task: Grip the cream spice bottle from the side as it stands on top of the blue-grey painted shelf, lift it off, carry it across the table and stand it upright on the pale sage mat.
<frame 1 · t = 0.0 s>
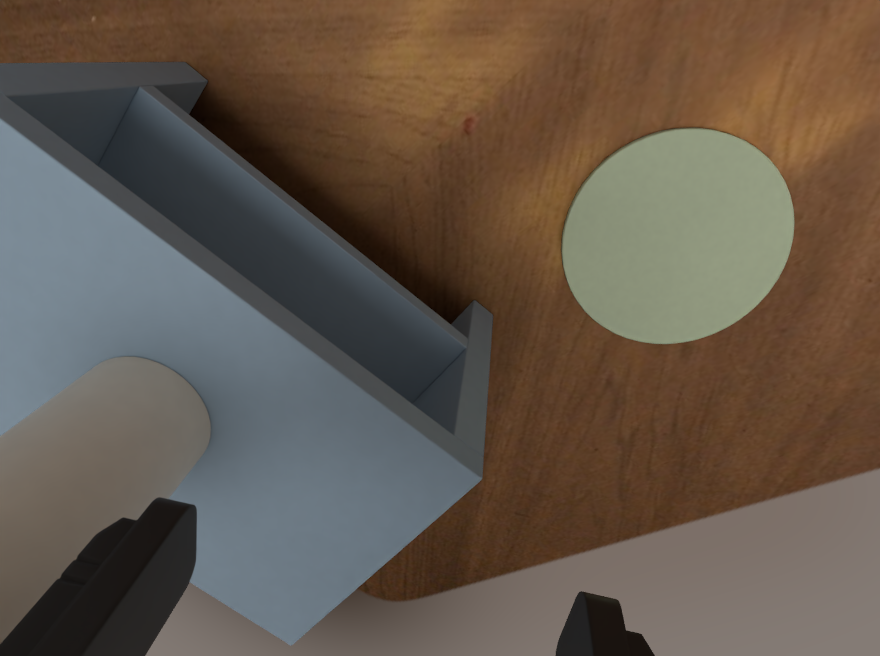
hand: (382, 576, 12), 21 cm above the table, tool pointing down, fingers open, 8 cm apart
spice bottle: (146, 415, 20), point 14 cm above the table, touching shelf
mat: (672, 242, 30), on the table
shelf: (287, 277, 33), on the table
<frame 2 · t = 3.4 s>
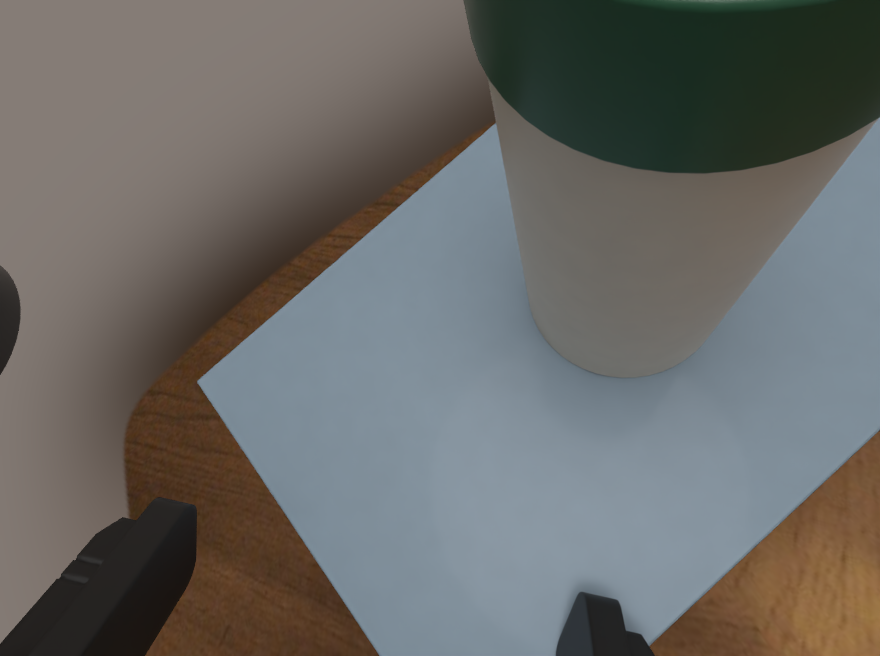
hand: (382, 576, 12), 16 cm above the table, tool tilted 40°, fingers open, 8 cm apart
spice bottle: (621, 287, 15), point 14 cm above the table, touching shelf
shelf: (596, 395, 28), on the table
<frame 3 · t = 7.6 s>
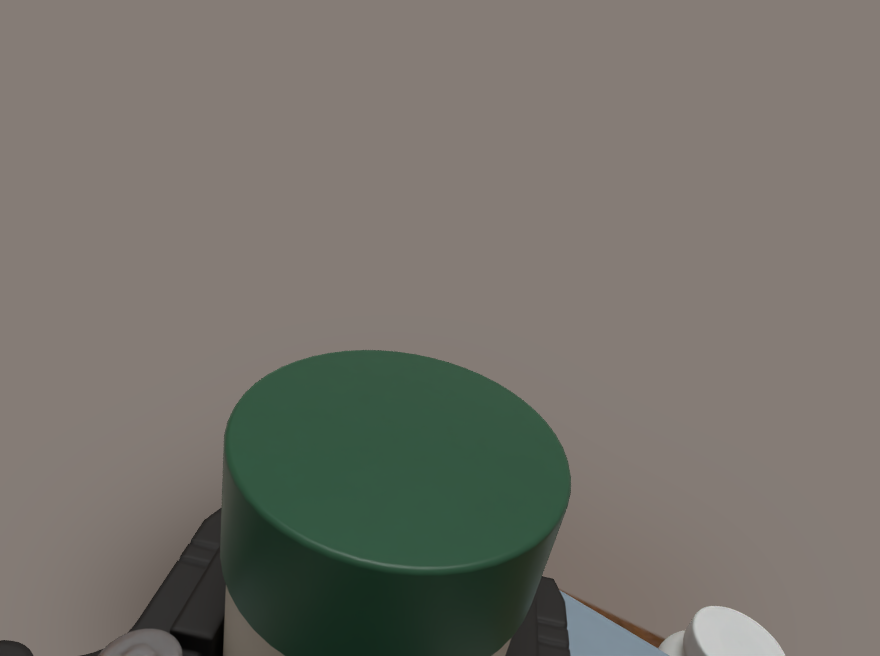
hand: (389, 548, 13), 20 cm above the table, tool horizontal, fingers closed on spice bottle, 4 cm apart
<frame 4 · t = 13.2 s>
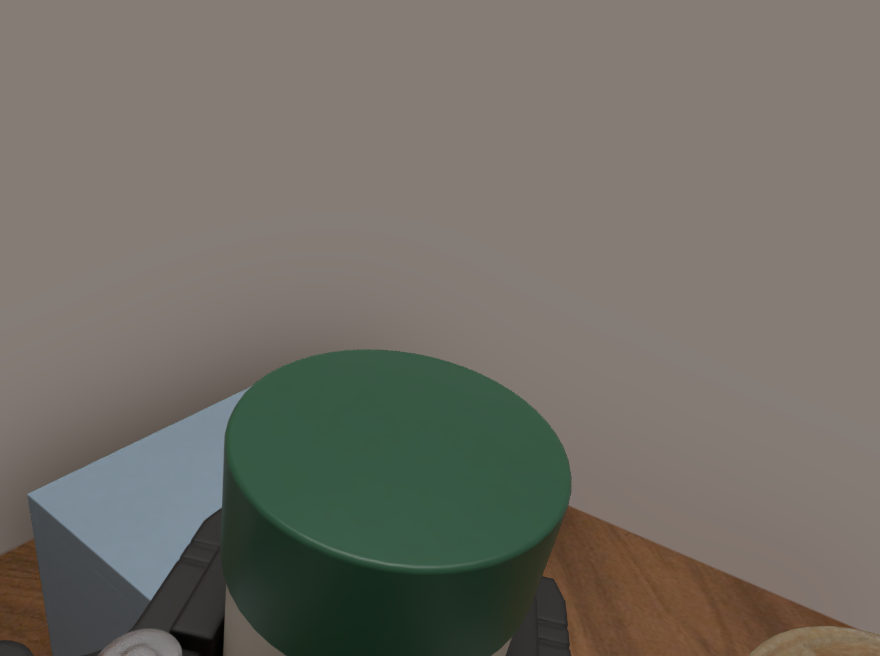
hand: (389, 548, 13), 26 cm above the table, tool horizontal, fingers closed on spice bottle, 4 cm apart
shelf: (264, 619, 39), on the table
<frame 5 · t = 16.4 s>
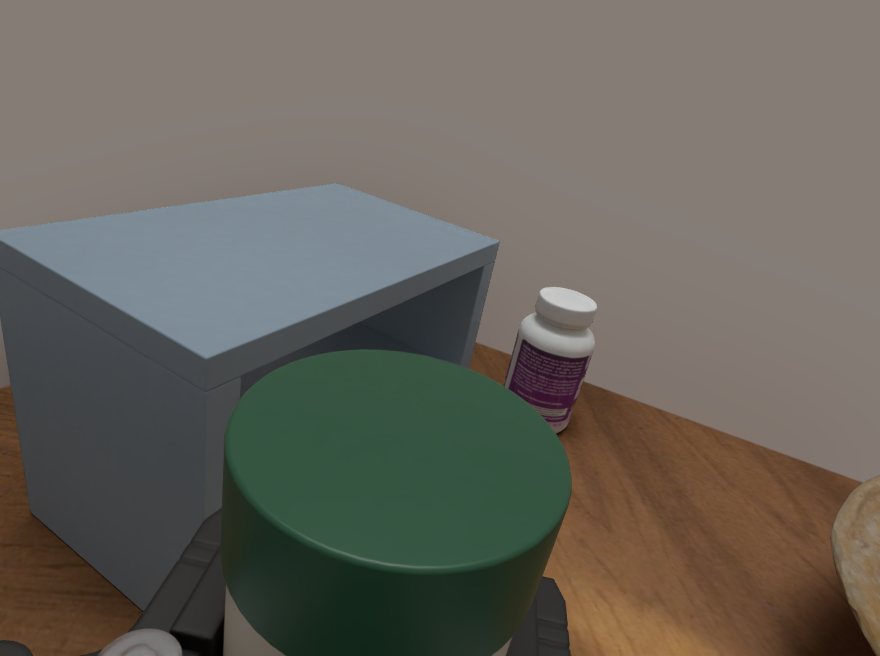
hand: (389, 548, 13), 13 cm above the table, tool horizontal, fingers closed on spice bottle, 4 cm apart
pill bottle: (531, 417, 44), on the table
shelf: (276, 469, 34), on the table
when the fingers open (6 cm above the table, at t = 18.8 s): spice bottle stays where it is, resting on mat.
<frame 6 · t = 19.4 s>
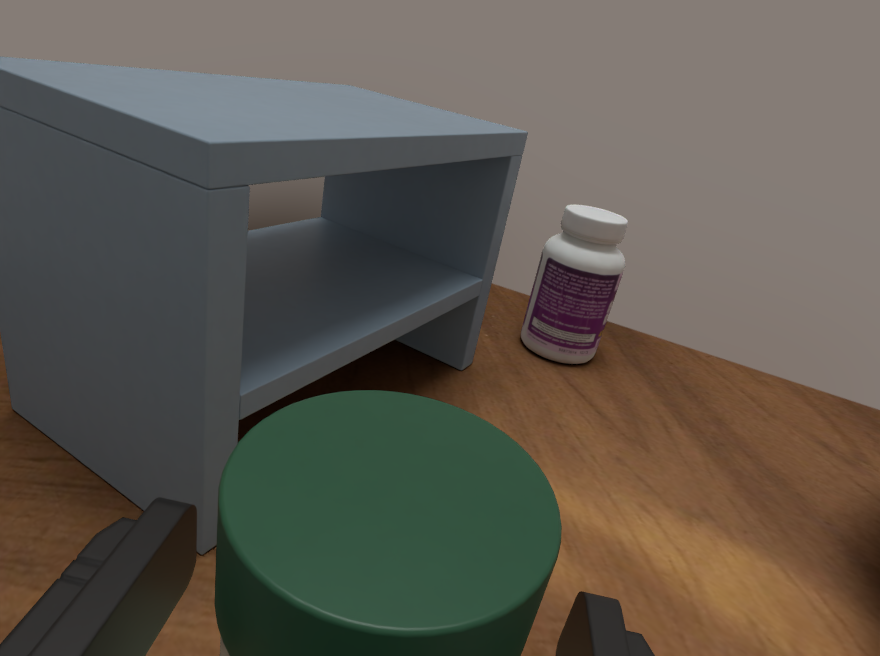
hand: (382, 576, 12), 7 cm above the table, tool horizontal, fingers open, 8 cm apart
pill bottle: (555, 349, 41), on the table
shelf: (284, 382, 31), on the table
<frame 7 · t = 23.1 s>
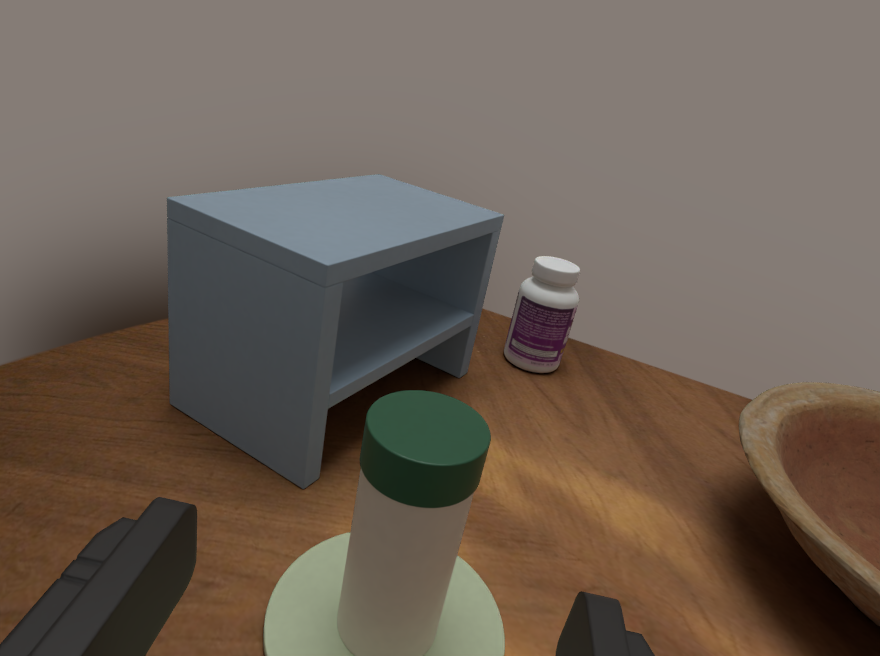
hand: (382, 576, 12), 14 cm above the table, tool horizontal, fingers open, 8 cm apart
pill bottle: (530, 362, 55), on the table
spice bottle: (387, 620, 27), resting on mat
mat: (386, 625, 27), on the table
shelf: (337, 386, 45), on the table
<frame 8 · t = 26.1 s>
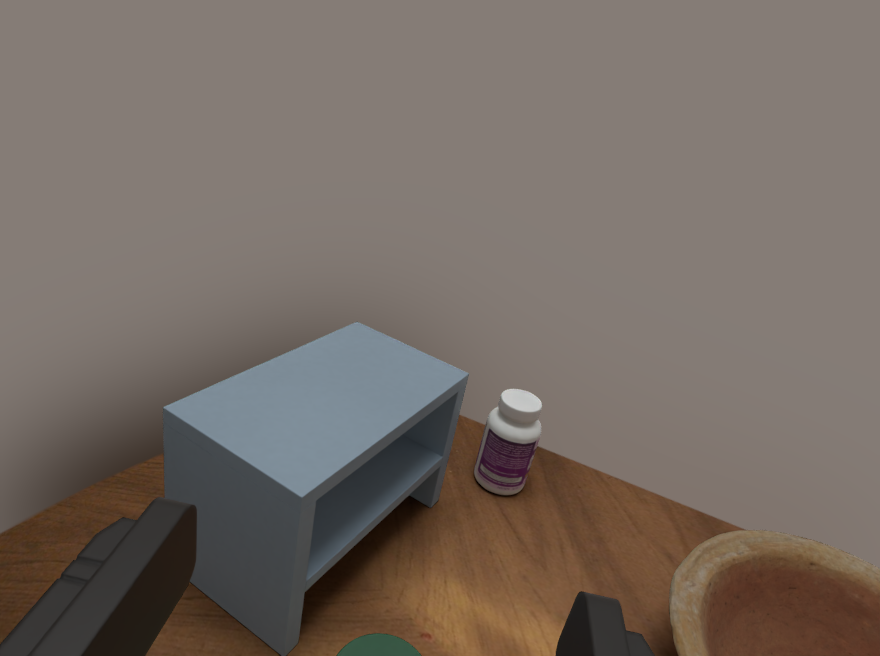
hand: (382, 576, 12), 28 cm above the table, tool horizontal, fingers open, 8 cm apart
pill bottle: (498, 480, 60), on the table
shelf: (317, 527, 49), on the table
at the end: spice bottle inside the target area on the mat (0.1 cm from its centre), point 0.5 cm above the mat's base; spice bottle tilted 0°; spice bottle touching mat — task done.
